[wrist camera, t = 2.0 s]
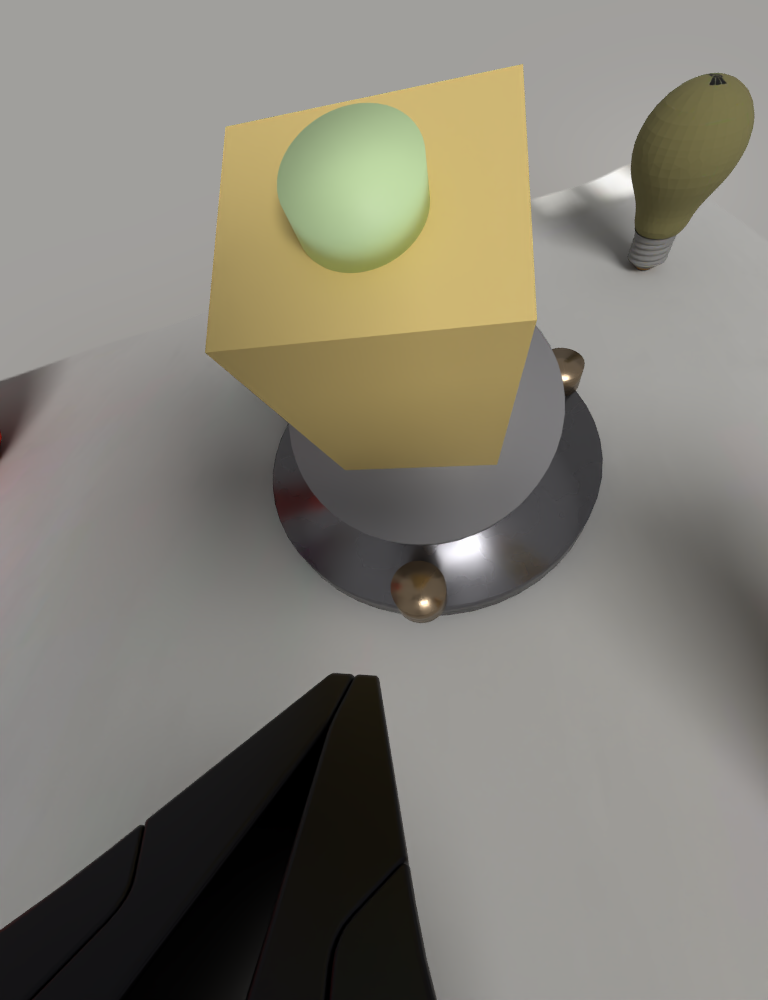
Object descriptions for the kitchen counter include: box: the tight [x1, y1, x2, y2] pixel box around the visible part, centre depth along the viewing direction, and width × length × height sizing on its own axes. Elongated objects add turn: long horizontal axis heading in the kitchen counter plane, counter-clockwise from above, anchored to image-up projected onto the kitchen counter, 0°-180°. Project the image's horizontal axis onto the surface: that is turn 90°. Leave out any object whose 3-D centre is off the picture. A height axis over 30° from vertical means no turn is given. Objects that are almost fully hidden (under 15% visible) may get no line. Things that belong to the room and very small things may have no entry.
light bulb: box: [628, 73, 754, 270], centre depth 26 cm, size 6×6×10 cm
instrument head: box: [205, 64, 565, 546], centre depth 15 cm, size 13×13×13 cm
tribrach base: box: [273, 348, 603, 623], centre depth 23 cm, size 19×18×4 cm
